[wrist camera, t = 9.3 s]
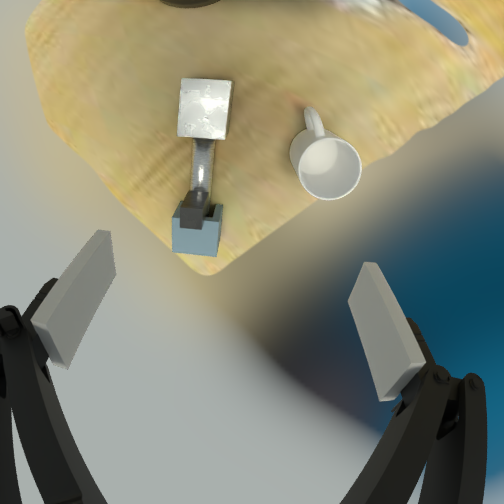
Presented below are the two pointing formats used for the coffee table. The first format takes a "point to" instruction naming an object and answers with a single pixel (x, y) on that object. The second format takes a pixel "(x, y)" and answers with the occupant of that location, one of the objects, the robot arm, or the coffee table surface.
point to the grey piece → (198, 185)
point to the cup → (324, 160)
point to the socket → (197, 235)
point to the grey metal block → (204, 108)
